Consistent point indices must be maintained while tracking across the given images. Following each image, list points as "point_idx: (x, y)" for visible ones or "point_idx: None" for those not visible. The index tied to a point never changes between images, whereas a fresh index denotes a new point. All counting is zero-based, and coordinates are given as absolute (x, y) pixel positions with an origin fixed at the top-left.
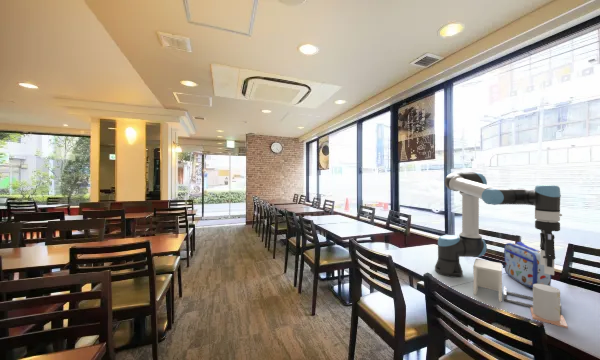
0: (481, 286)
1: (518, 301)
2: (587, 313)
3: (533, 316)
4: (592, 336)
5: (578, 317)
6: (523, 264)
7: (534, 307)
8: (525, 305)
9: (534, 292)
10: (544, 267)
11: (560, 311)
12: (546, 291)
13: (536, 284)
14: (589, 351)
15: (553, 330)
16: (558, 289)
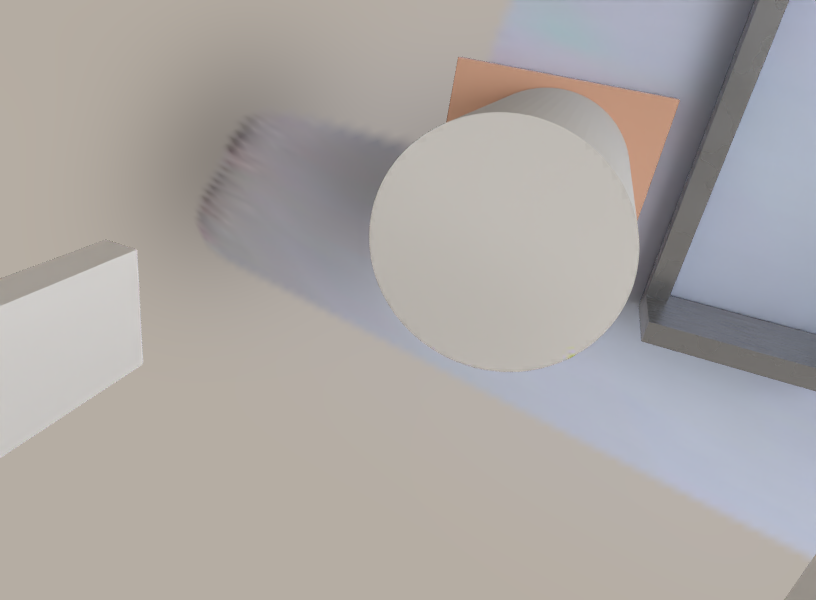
0: None
1: (779, 6)
2: (771, 503)
3: (469, 66)
4: (392, 337)
5: (658, 404)
6: None
7: (516, 94)
8: (731, 68)
9: (484, 108)
10: (26, 292)
11: (641, 312)
12: (375, 210)
13: (589, 179)
14: (210, 236)
15: (344, 145)
16: (509, 371)
